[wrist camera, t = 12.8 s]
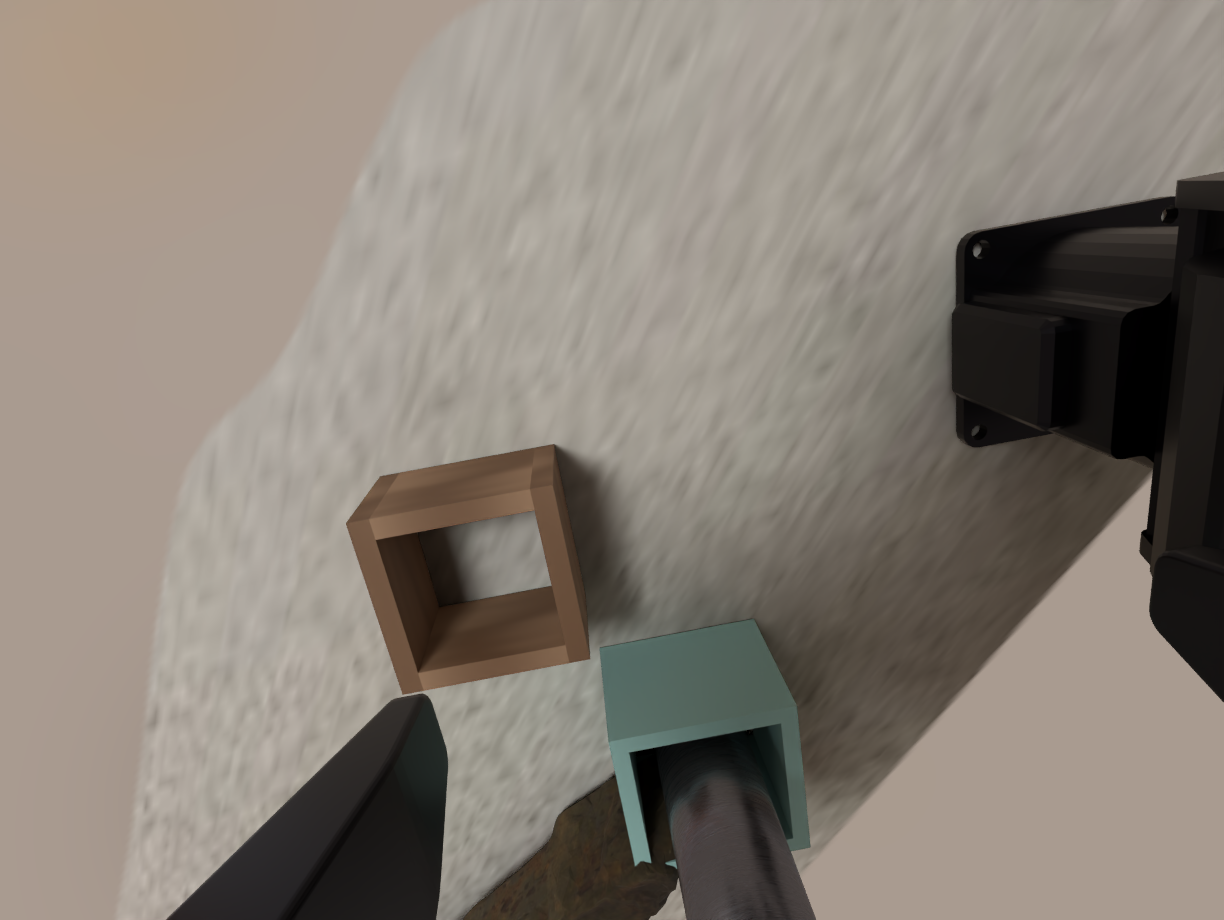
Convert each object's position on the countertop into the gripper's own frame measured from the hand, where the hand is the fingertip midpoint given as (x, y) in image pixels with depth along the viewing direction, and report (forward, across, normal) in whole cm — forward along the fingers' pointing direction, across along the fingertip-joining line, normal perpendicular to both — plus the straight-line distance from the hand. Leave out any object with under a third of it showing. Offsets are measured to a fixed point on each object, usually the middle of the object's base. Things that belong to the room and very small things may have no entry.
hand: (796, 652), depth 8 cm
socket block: (+13, +6, +4) cm, 15 cm away
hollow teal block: (+13, 0, +11) cm, 17 cm away
